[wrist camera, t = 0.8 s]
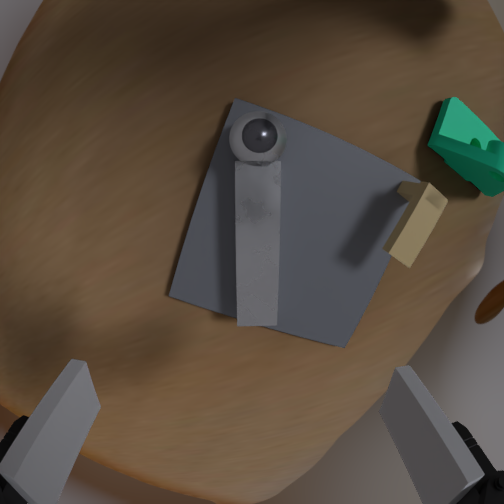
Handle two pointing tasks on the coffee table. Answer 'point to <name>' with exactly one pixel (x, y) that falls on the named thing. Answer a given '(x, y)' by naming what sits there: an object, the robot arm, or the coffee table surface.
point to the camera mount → (469, 147)
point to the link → (257, 215)
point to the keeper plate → (310, 230)
